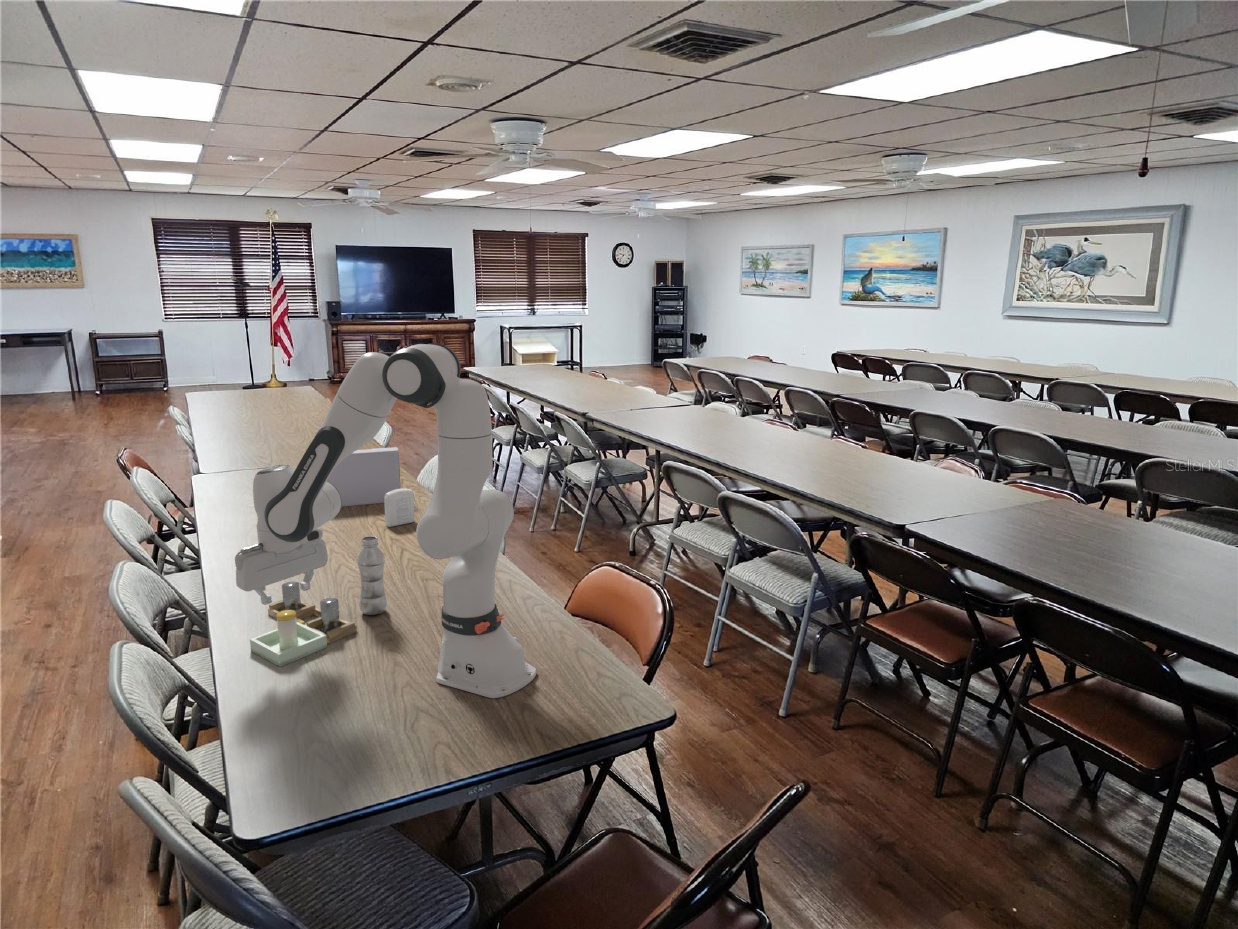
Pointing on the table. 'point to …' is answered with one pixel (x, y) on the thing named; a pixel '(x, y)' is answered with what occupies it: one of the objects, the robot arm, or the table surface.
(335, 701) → the table surface
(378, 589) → the plastic bottle
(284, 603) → the canister
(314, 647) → the tray
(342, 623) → the rack
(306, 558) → the robot arm
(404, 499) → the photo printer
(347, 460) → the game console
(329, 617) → the canister
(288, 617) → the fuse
